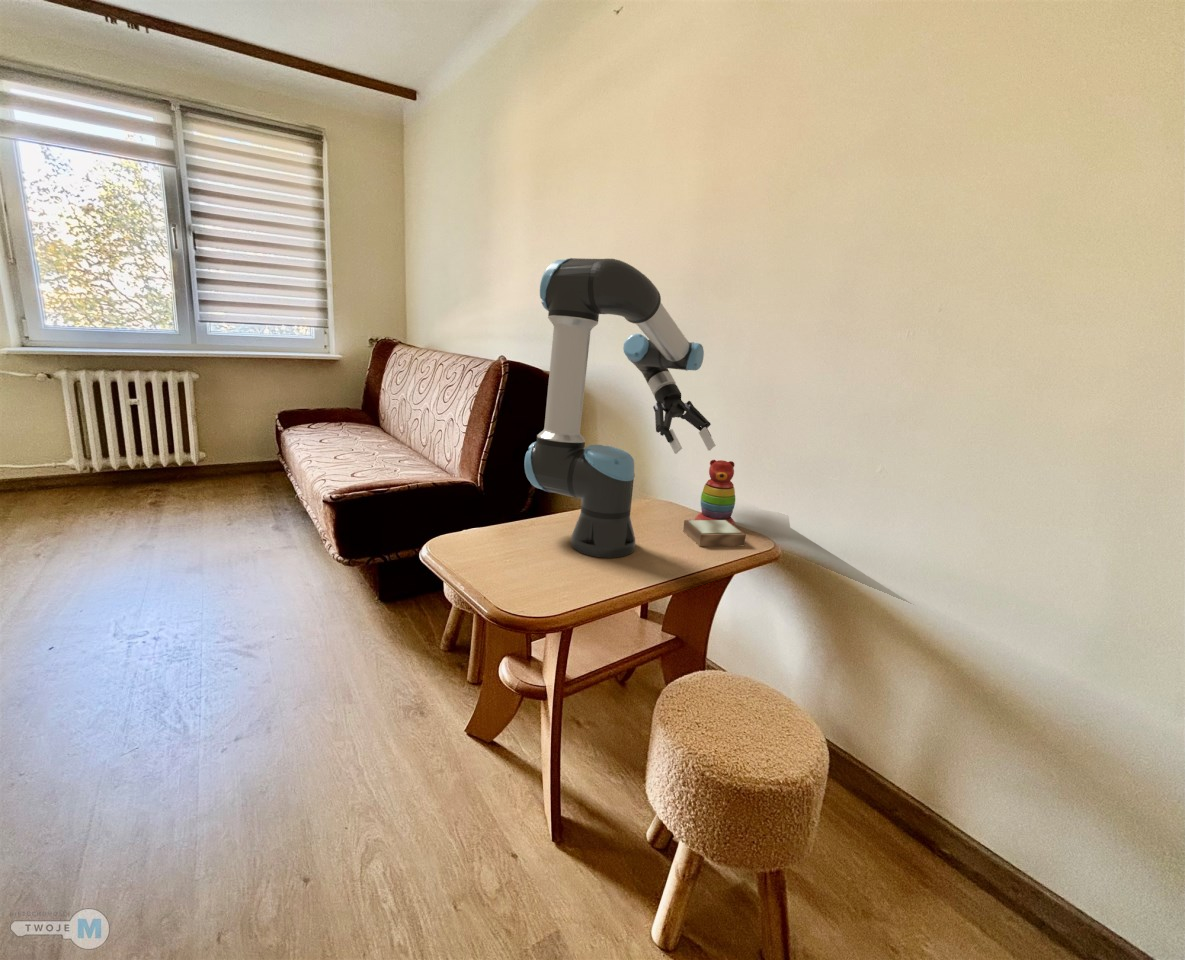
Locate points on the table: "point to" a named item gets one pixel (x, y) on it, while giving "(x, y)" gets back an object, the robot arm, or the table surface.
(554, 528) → the table surface
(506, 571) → the table surface
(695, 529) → the grey flat block
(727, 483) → the stacking bear
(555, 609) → the table surface
